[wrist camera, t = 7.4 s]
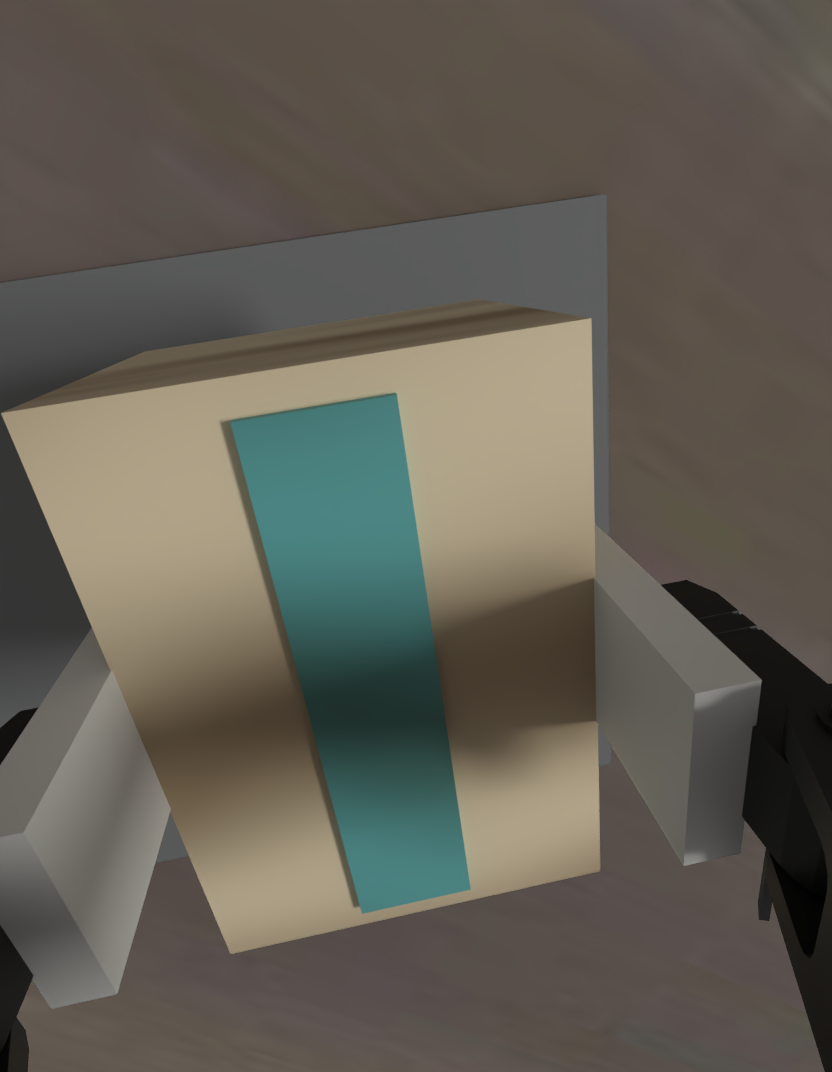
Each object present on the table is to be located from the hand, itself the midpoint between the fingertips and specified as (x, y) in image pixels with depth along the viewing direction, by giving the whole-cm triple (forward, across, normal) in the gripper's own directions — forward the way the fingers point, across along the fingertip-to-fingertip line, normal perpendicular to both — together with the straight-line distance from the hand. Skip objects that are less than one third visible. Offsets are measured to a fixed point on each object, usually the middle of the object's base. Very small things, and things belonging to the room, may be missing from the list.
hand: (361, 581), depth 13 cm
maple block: (+2, 0, 0) cm, 2 cm away
